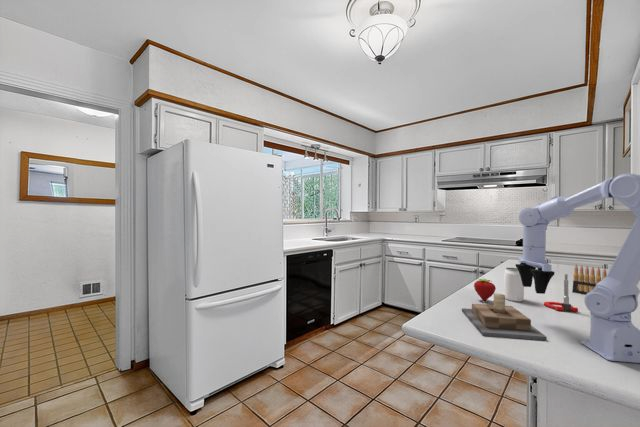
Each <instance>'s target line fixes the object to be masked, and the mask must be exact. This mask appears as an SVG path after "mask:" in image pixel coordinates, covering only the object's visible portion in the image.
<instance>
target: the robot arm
mask: <svg viewBox="0 0 640 427" xmlns="http://www.w3.org/2000/svg"><path fill="white" fill-rule="evenodd" d="M604 199H605V200H606V199H615V200H616V201H617V202H620V203H621V204H623V206H626V207H627V208H628V209H629V210H630V211H631V213H632V214H633V215H634V216H635V218H636V219H635V221H634V222H633V223H632V224H633V225H632V227H631V228H630V231H629V232H628V234H627V236H626V238H625V240H624V242H623V244H622V246H621V247H620V250H619V251H618V254H617V256H616V258H615V259H614V262H613V263H612V265H611V267H610V269H609V270H608V273H607V274H606V275H607V276H606V277H605V278H604V279H603V280H602V279H601V281H600V282H599V283H597V284H596V286H595V288H594V289H593V290H592V291H590V292H588V293H587V294H586V295H584V299H583V300H584V301H583V302H584V305H585V307H586V309H587V310H588V311H589V314H590V328H589V330H590V331H589V335H590V336H589V341H587V340H582V341H581V342H580V343H581V344H583V345H584V346H585V347H587V348H589V349H590V350H591V351H594V352H595V353H596V354H598V355H599V356H601V357H602V358H603V359H606V360H607V361H612V362H625V363H637V364H640V329H639V328H638V327H636V326H635V325H634V324H633V321H632V313H634V312H635V311H637V308H638V307H639V301H638V297H639V295H640V289H639V288H638V284H639V282H640V174H635V173H629V172H628V173H622V174H619V175H617V176H616V177H611V178H607V179H605V180H603V181H602V182H600V183H598V184H595V185H592V186H591V187H589V188H586V189H584V190H582V191H580V192H578V193H575V194H573V195H571V196H568V197H566V196H556V195H555V196H552V197H550V200H547V201H544V202H543V203H537V204H535V207H531V206H527V207H525V208H523V209H522V210H520V212H519V214H518V220H519V222H520V224H522V226H523V227H522V228H523V230H522V233H523V234H522V256H519V257H518V263H515V268H517V269H518V271H519V274H520V277H521V280H522V284H523V286H524V288H531V287H532V284H533V281H534V290H535V294H541V295H544V294H546V291H547V289H548V288H547V287H548V286H549V283H550V282H551V280H552V278H553V277H554V276H555V271H553V270H552V267H553V266H552V264H549V263H548V262H547V261H546V251H547V250H546V246H547V245H546V243H547V242H546V241H547V239H546V237H547V230H548V225H549V224H550V223H551V222H553V221H557V220H559V219H562V218H566V217H569V216H571V215H572V214H573V212H574V210H575V209H577V208H581V207H583V206H586V205H590V204H593V203H596V202H598V201H601V200H604Z"/></svg>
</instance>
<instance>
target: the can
mask: <svg viewBox="0 0 640 427" xmlns="http://www.w3.org/2000/svg"><path fill="white" fill-rule="evenodd" d="M503 276H504V281H503V282H504V284H503V286H504V288H503V290H504V291H503V295H505V301H506V300H507V301H509V302H516V303H521V302H523V301H524V300H525V299H524V298H525V297H524V296H525V287H524V286H523V284H522V280H521V277H520V274H519V271H518V269H517V267H506V268H505V270H504V275H503Z"/></svg>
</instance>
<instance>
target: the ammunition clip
mask: <svg viewBox="0 0 640 427" xmlns="http://www.w3.org/2000/svg"><path fill="white" fill-rule="evenodd" d="M573 270H574V272H573V276H572V277H573V280H572V289H571V290H572V293H574V294H578V295H579V294H580V295H584V296H585V295H586V294H587V293H588V292H590V291H592V290H593V289H594V288H595V286H596V284H597V283H599V282H600V281H601V280H603V279H604V278H605V277H606V276H607V275H608V274H607V269H606V268H605V267H603V270H602V275H601V269H600V267H599V266H598V267H597V268H596V273H595V268H594V266H591V268H589V266H588V265H586V266H585V269H584V266H583V265H582V264H581V265H580V267H578V265H577V264H575V266H574V268H573ZM595 274H596V275H595Z"/></svg>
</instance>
